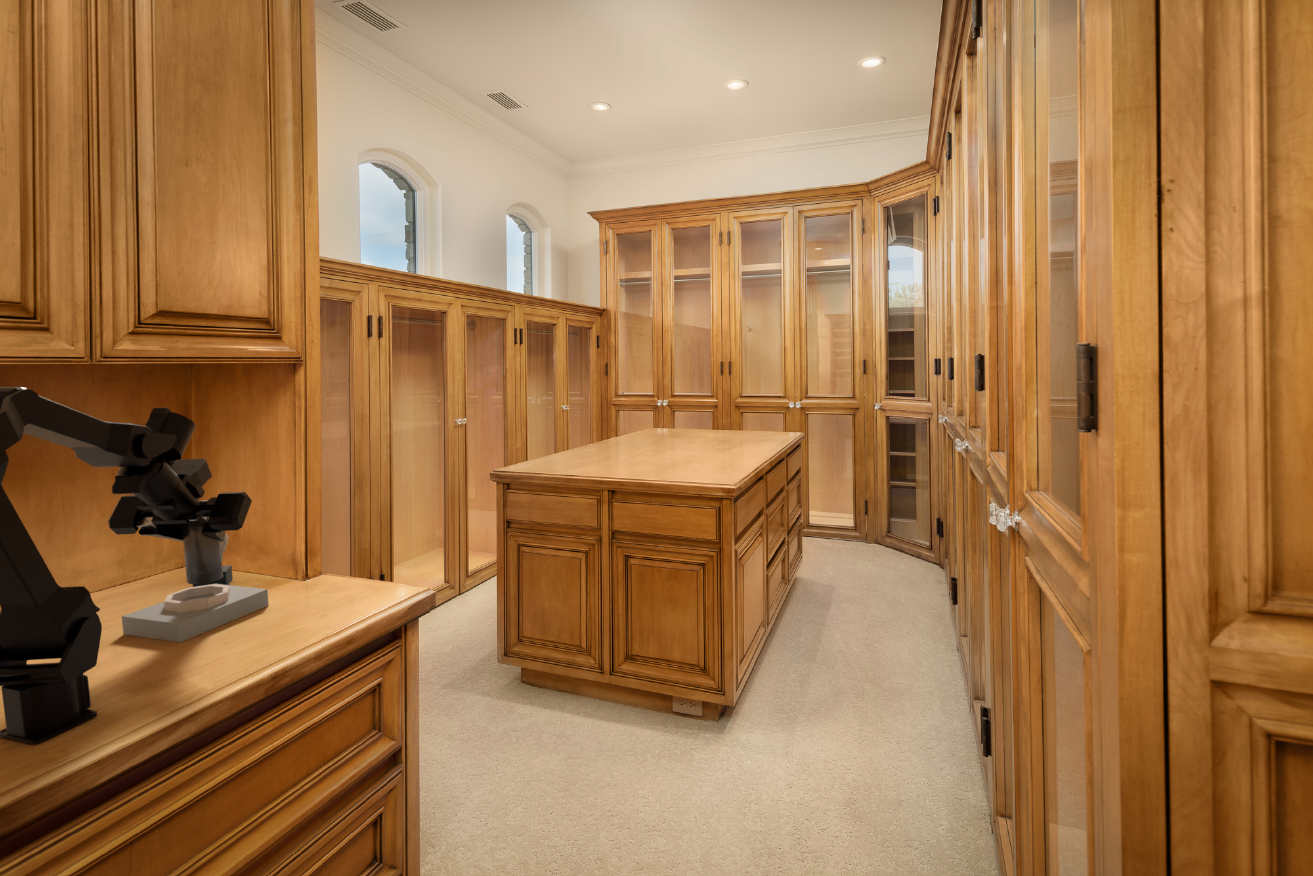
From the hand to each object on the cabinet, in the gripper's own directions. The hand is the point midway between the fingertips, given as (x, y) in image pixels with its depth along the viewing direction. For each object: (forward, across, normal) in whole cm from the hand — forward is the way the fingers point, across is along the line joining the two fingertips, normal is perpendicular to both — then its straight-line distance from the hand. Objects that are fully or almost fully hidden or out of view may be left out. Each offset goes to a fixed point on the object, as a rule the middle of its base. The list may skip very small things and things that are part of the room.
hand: (206, 538), depth 108 cm
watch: (+22, +9, -2) cm, 24 cm away
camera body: (+9, +2, +10) cm, 14 cm away
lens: (+4, 0, +6) cm, 7 cm away
